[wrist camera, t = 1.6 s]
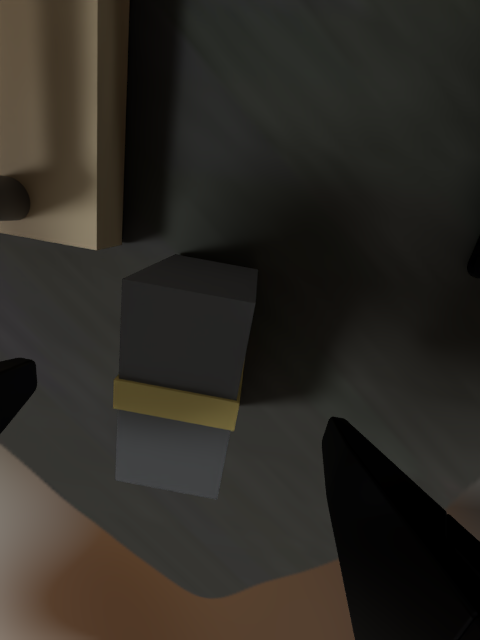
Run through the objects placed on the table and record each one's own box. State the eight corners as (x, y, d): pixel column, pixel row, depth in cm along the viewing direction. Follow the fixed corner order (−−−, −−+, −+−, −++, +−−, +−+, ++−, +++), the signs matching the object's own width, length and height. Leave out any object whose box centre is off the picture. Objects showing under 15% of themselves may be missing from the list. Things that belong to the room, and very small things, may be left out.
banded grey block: (260, 269, 12) (259, 305, 8) (233, 409, 15) (219, 502, 10) (172, 253, 12) (116, 279, 8) (160, 395, 15) (111, 482, 10)
